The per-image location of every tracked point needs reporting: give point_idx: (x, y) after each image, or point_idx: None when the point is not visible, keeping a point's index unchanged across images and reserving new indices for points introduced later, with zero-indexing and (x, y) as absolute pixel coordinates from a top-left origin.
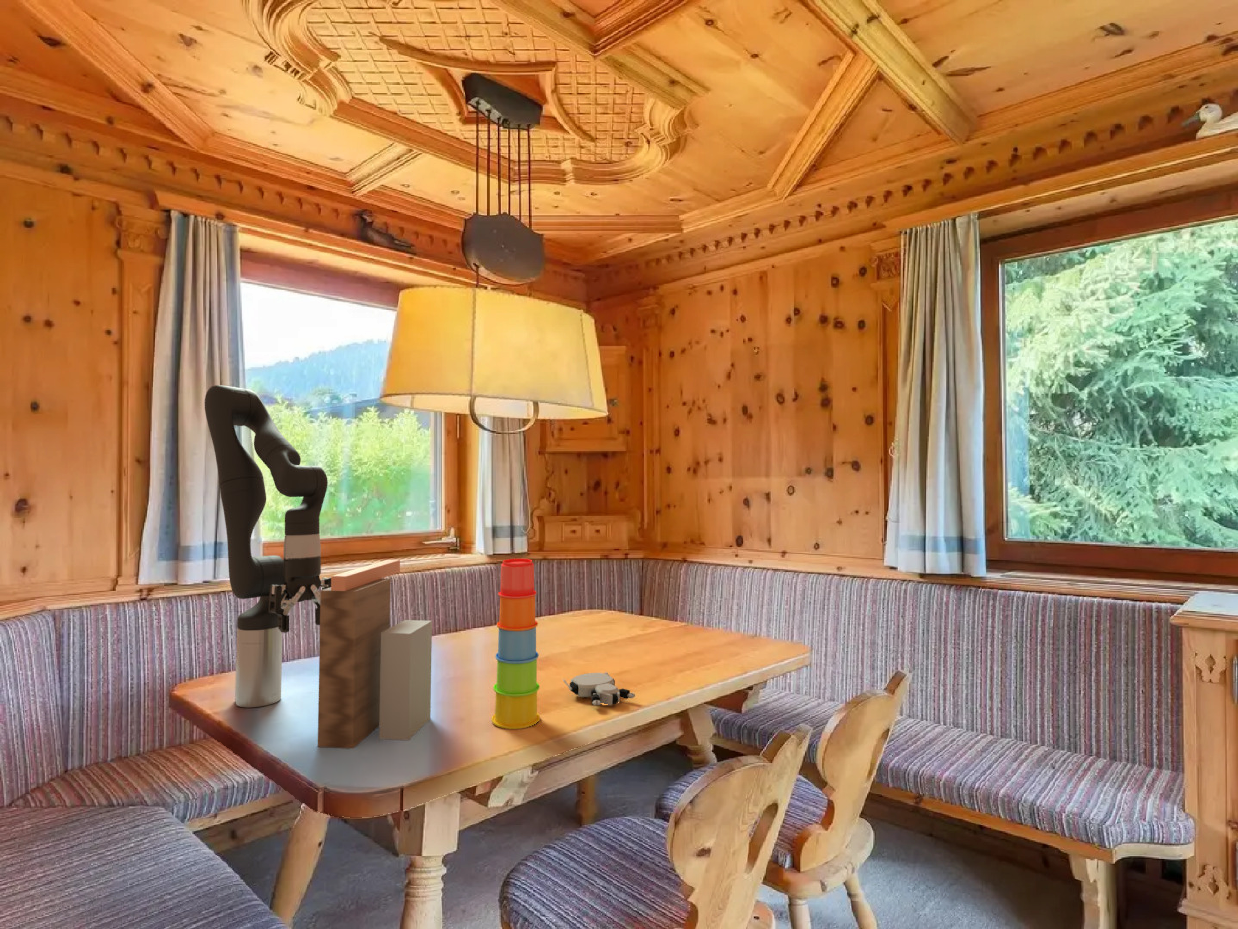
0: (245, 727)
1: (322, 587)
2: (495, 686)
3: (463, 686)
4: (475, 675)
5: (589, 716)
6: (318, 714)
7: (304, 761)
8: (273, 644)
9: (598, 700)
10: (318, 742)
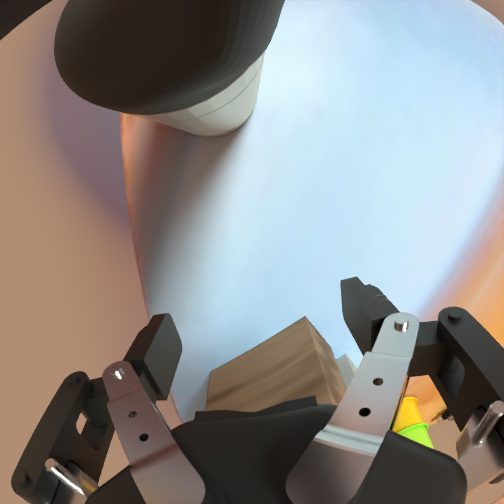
0: (147, 233)
1: (464, 429)
2: (399, 432)
3: (469, 290)
4: (501, 257)
5: (425, 420)
6: (206, 404)
7: (185, 390)
8: (204, 117)
9: (442, 419)
10: (210, 376)
